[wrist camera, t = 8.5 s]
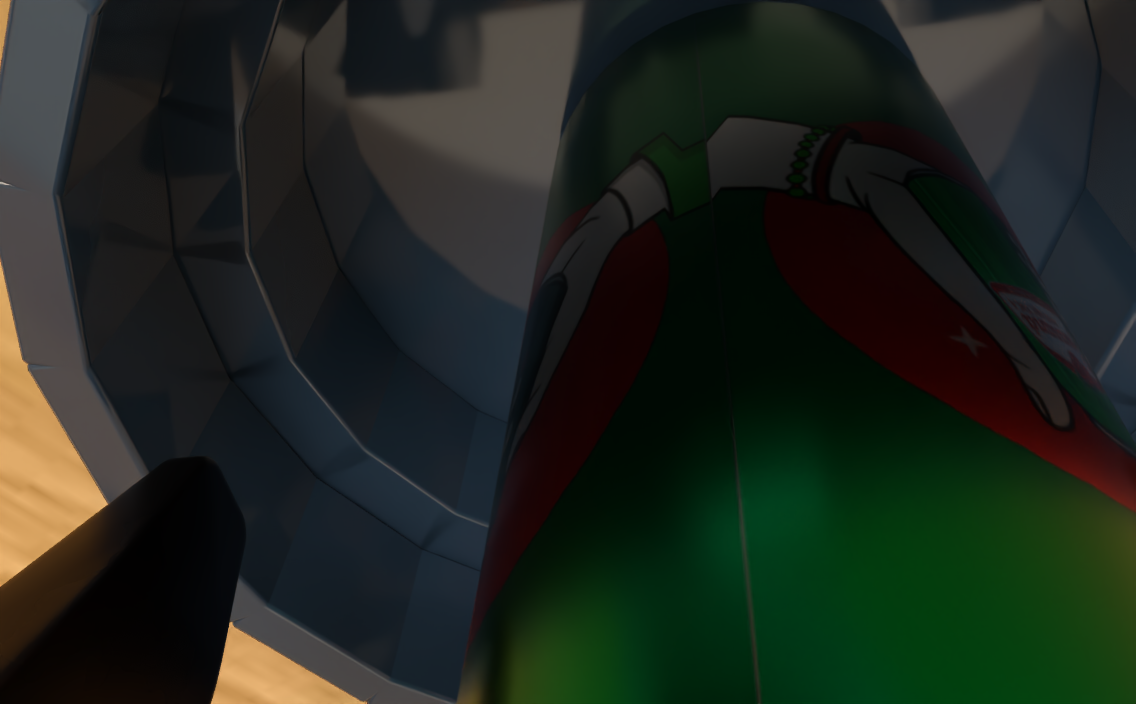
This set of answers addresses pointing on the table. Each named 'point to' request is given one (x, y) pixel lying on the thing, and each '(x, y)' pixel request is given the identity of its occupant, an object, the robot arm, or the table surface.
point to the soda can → (796, 405)
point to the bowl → (420, 257)
